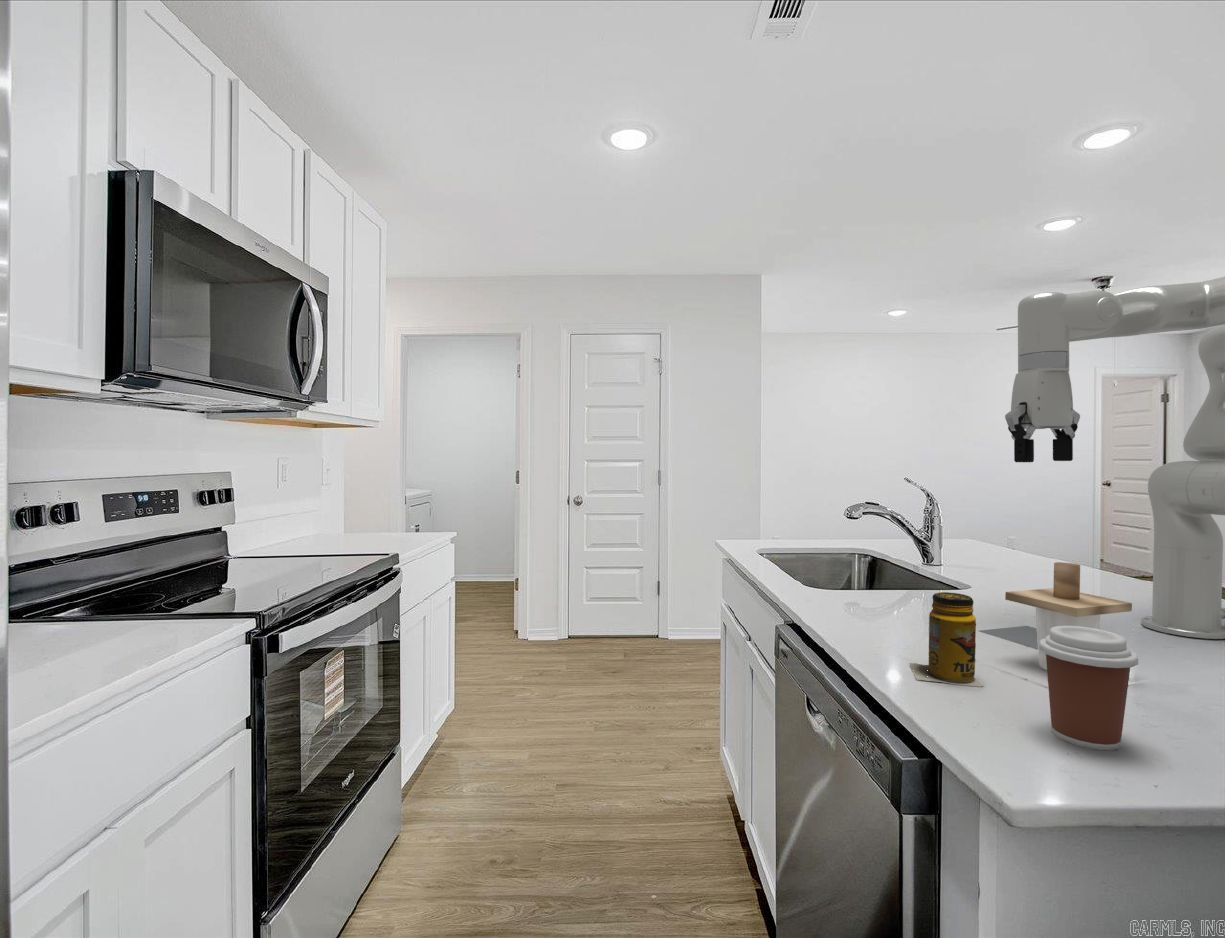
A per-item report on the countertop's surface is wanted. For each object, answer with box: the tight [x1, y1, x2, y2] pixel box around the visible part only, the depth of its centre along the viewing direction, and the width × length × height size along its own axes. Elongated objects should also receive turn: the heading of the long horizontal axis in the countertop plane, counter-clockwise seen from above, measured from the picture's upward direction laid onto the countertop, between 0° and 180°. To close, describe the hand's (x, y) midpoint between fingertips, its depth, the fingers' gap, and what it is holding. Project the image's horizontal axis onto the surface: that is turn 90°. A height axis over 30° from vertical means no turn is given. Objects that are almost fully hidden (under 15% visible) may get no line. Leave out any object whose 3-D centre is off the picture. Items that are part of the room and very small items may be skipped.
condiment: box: [909, 591, 983, 688], centre depth 92 cm, size 7×8×12 cm
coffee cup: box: [1038, 626, 1139, 751], centre depth 72 cm, size 9×9×12 cm
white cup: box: [1035, 607, 1101, 671], centre depth 94 cm, size 8×8×10 cm
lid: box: [1004, 561, 1133, 617], centre depth 94 cm, size 11×11×6 cm
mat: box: [978, 625, 1039, 651], centre depth 111 cm, size 12×12×1 cm
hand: (1043, 461), depth 112 cm, fingers open, 9 cm apart
